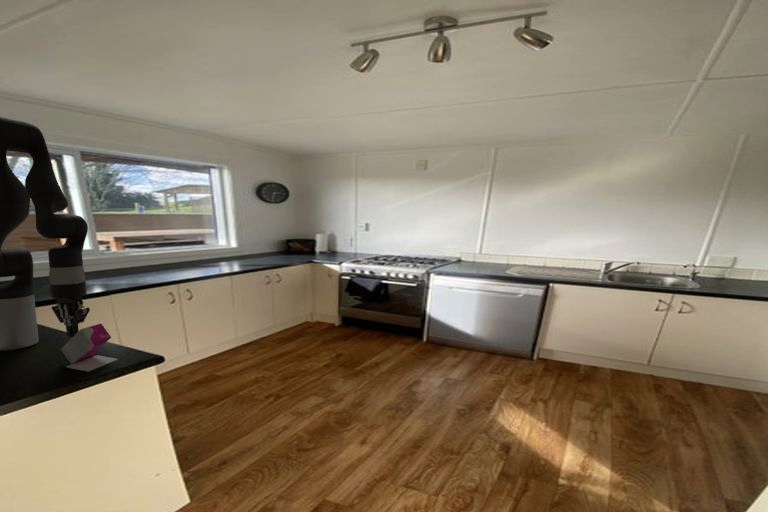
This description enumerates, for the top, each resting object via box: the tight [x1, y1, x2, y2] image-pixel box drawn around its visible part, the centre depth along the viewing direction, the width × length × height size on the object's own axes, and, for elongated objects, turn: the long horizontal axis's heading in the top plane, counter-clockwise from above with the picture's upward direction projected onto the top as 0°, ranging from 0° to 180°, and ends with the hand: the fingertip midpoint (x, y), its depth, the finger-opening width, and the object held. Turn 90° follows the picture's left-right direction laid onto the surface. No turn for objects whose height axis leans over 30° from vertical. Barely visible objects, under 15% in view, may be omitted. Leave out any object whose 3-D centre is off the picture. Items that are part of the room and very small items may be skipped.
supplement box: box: [59, 323, 112, 365], centre depth 94 cm, size 6×6×12 cm
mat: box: [65, 355, 119, 373], centre depth 93 cm, size 9×8×1 cm
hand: (73, 336), depth 94 cm, fingers closed
